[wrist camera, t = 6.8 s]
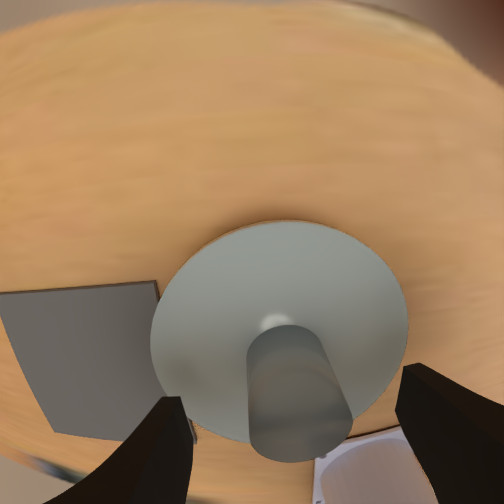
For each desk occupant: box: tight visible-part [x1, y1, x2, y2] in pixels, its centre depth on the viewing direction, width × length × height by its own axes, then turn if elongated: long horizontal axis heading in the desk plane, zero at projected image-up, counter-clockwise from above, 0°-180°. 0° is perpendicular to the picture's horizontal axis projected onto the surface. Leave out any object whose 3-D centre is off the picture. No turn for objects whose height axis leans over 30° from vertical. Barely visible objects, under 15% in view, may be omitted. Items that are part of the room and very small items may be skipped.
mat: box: [0, 280, 197, 444], centre depth 16 cm, size 11×11×1 cm
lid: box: [150, 220, 408, 463], centre depth 10 cm, size 10×10×5 cm
